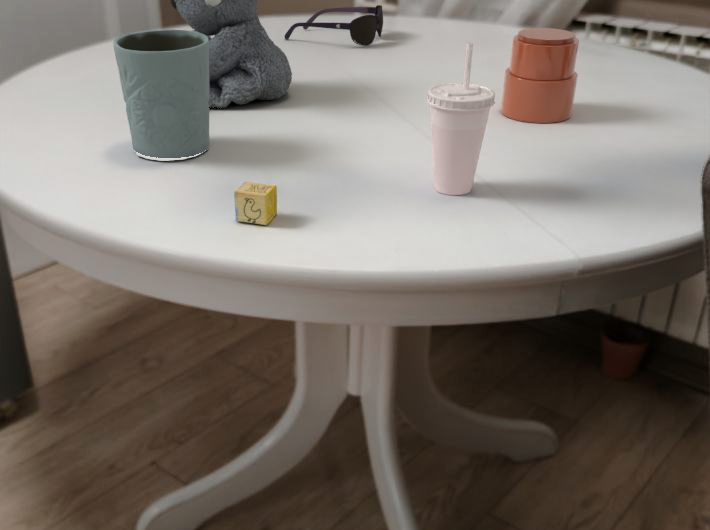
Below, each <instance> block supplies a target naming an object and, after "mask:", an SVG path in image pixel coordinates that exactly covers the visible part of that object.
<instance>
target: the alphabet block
mask: <svg viewBox="0 0 710 530" xmlns="http://www.w3.org/2000/svg"><path fill="white" fill-rule="evenodd" d="M277 188H278V187H277V185H276V184H270V183H269V184H267V183H259V182H251V181H245V182H243V183H242V184H241V185H240V186H239V187H237V189H236V190H234V191H233V197H234V216H235V221H236V222H241V223H247V224H256V225H261V226H268V225H269V224H270V223H271V221H273V220H274V218H275V217H276V216H277V215H276V214H278V189H277ZM275 215H276V216H275ZM274 216H275V217H274ZM273 217H274V218H273Z"/></svg>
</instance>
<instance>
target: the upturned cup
mask: <svg viewBox="0 0 710 530" xmlns="http://www.w3.org/2000/svg"><path fill="white" fill-rule="evenodd" d="M579 44H580V39H578V38H577V37H576V33H574V32H572V31H569V30H565V29H560V28H553V27H531V28H523V29H521V30H519V31H518V32H517V34H515V35H513V37H512V45H511V53H510V61H509V67H507V68H506V69H505V71H504V78H503V87H502V94H501V95H502V96H501V103H500V104H501V106H500V113H501V114H502V115H503V116H505V117H507V118H509V119H511V120H514V121H520V122H524V123H531V124H532V123H533V124H552V123H560V122H563V121H567V120H568V119H570V118H572V115H573V113H572V112H573V107H574V101H575V96H576V90H577V84H578V83H577V82H578V76H579V75H578V72H576V63H577V57H578V51H579V46H580V45H579Z"/></svg>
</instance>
